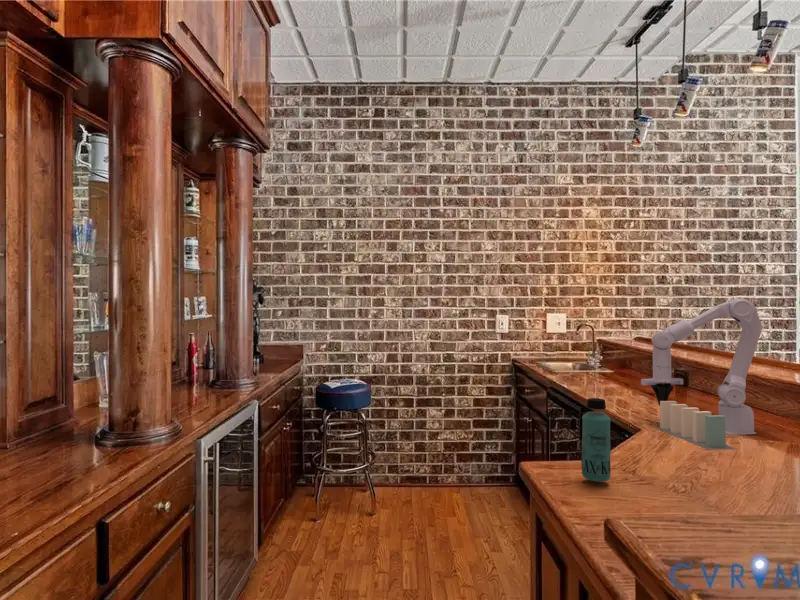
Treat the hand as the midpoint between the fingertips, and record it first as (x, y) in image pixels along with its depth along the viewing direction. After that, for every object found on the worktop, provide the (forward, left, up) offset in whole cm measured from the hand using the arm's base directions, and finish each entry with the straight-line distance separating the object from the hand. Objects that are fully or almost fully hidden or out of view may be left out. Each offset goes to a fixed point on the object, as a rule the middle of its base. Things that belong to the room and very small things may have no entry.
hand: (662, 405), depth 171 cm
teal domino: (0, +25, -7) cm, 26 cm away
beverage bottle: (+49, +50, -7) cm, 71 cm away
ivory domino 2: (0, +9, -7) cm, 11 cm away
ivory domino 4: (0, +20, -7) cm, 21 cm away
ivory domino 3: (0, +14, -7) cm, 16 cm away
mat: (0, +14, -7) cm, 16 cm away
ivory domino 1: (0, +3, -7) cm, 8 cm away
